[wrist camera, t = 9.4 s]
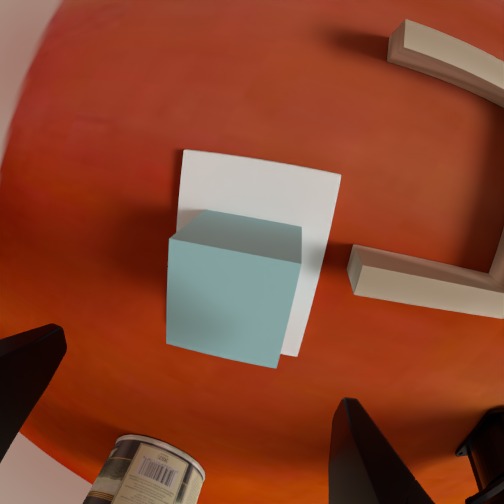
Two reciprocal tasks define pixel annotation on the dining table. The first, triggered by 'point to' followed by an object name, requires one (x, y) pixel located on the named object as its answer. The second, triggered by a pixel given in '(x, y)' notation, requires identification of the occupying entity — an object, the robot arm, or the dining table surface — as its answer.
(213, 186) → the white flat slab
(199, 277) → the teal cube
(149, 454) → the coffee can
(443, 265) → the birch cubby
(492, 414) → the robot arm
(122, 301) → the dining table surface
